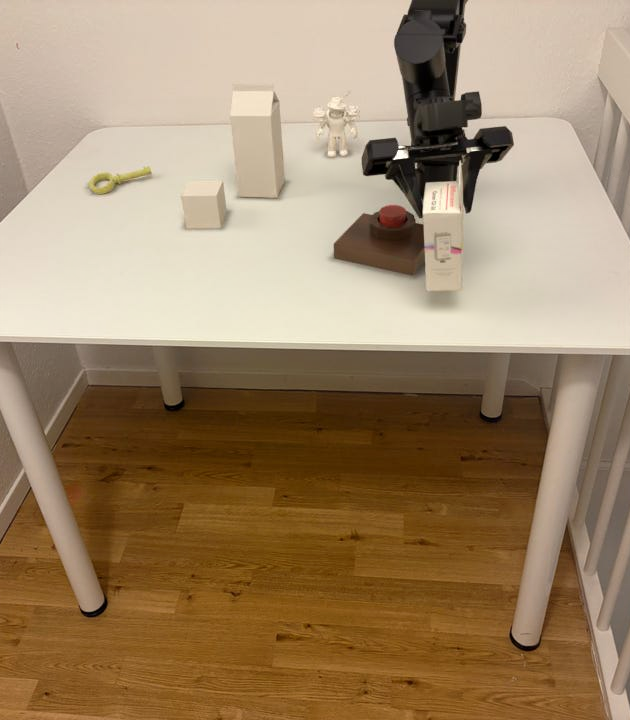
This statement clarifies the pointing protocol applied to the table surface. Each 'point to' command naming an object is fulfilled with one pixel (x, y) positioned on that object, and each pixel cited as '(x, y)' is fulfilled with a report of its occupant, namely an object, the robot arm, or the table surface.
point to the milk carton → (257, 140)
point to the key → (115, 179)
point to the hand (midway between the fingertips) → (445, 214)
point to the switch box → (383, 244)
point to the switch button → (392, 215)
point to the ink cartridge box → (443, 234)
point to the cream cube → (204, 204)
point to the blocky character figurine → (337, 123)
